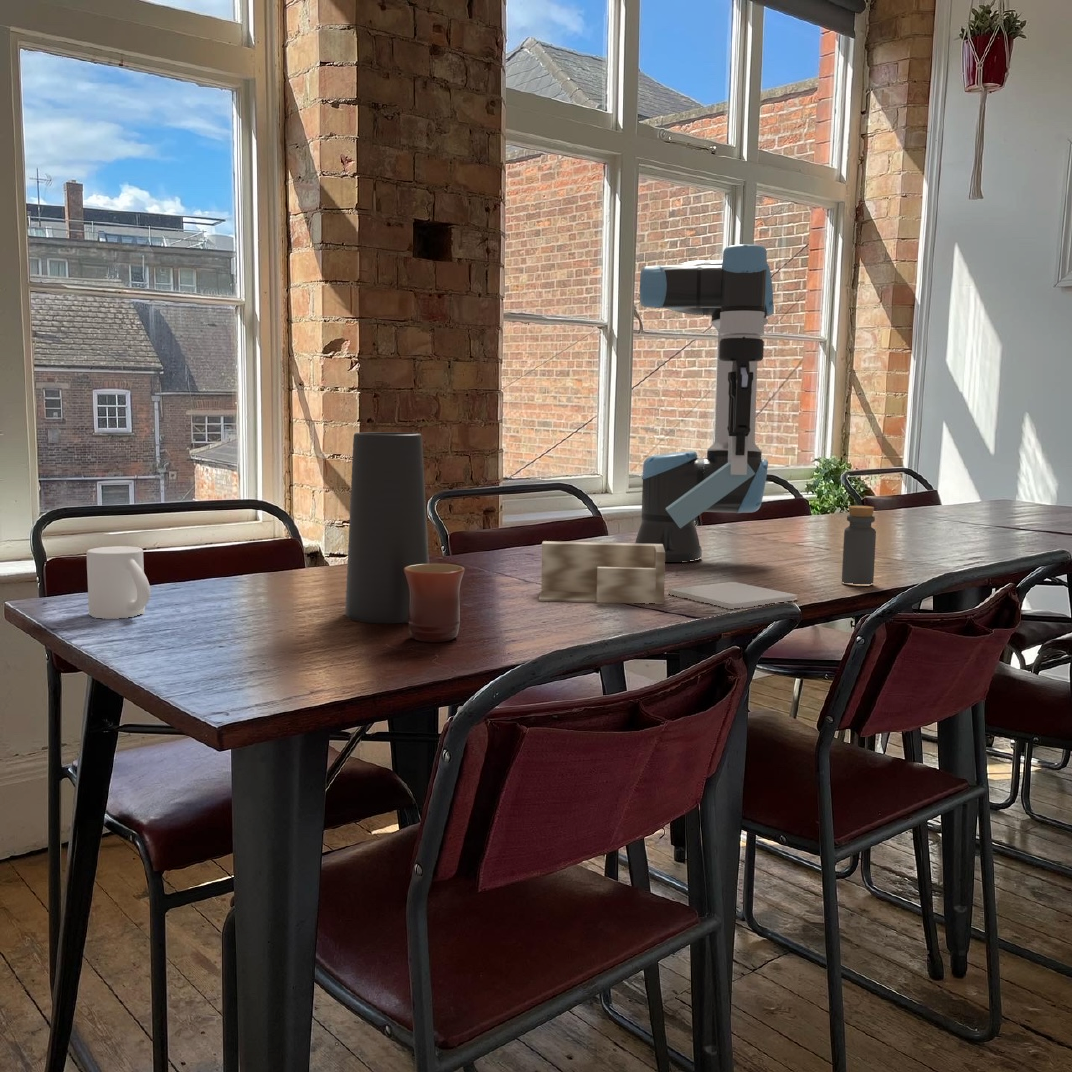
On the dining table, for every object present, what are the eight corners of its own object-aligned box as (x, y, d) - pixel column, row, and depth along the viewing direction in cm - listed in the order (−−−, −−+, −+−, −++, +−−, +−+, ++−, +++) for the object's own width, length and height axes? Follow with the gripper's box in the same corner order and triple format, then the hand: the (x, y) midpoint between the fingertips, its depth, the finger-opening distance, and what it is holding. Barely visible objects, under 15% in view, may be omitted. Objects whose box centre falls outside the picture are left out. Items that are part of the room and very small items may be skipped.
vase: (446, 611, 176) (447, 433, 173) (402, 626, 164) (401, 435, 160) (376, 603, 182) (375, 431, 178) (328, 618, 170) (325, 433, 166)
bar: (680, 528, 189) (666, 510, 188) (678, 526, 193) (665, 508, 192) (755, 473, 187) (741, 455, 186) (752, 472, 191) (739, 454, 190)
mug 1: (123, 544, 175) (168, 551, 168) (125, 607, 176) (170, 616, 169) (75, 549, 168) (120, 557, 161) (78, 615, 170) (122, 625, 163)
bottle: (873, 583, 209) (877, 506, 207) (872, 588, 204) (876, 508, 202) (842, 581, 211) (846, 504, 209) (840, 585, 205) (844, 507, 204)
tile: (668, 594, 194) (668, 589, 194) (733, 586, 203) (733, 581, 203) (731, 609, 181) (731, 603, 181) (797, 600, 190) (797, 595, 189)
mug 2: (464, 644, 153) (465, 573, 152) (402, 645, 152) (402, 573, 151) (463, 626, 165) (463, 560, 163) (405, 627, 164) (405, 560, 163)
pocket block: (538, 601, 186) (539, 549, 185) (542, 590, 197) (543, 541, 195) (663, 604, 185) (665, 552, 184) (661, 593, 195) (662, 543, 194)
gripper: (771, 335, 177) (765, 477, 180) (757, 340, 194) (752, 470, 197) (724, 334, 178) (720, 476, 181) (715, 340, 195) (710, 470, 197)
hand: (736, 473), depth 189 cm, fingers closed on bar, 4 cm apart
